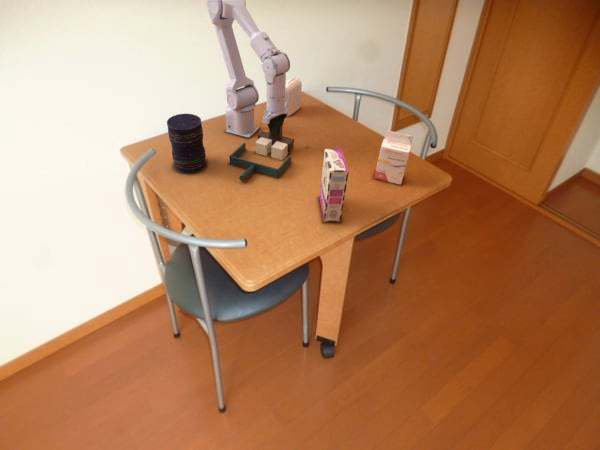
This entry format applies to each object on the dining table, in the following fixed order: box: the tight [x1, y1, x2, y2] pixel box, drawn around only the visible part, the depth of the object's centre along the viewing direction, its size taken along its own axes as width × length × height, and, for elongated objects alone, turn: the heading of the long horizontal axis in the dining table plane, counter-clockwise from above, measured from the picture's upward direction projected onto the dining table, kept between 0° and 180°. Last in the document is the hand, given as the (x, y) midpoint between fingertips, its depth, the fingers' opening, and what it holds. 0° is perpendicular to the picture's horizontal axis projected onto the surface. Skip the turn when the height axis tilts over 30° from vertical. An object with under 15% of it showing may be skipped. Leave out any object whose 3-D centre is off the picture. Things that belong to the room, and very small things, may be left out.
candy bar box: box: [318, 148, 350, 223], centre depth 111 cm, size 11×5×16 cm, turn 5°
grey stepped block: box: [256, 124, 295, 153], centre depth 137 cm, size 12×4×8 cm, turn 67°
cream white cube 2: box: [270, 141, 289, 161], centre depth 135 cm, size 4×4×4 cm
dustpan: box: [228, 142, 292, 183], centre depth 129 cm, size 17×16×3 cm
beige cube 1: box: [254, 137, 272, 157], centre depth 137 cm, size 4×4×4 cm
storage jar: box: [166, 113, 207, 175], centre depth 126 cm, size 10×10×15 cm
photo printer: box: [285, 77, 303, 117], centre depth 158 cm, size 10×4×12 cm, turn 149°
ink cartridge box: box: [374, 129, 414, 185], centre depth 125 cm, size 9×5×15 cm, turn 71°
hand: (275, 134), depth 137 cm, fingers closed on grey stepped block, 2 cm apart
